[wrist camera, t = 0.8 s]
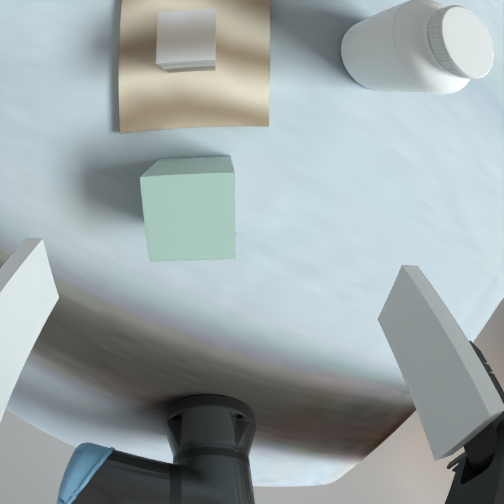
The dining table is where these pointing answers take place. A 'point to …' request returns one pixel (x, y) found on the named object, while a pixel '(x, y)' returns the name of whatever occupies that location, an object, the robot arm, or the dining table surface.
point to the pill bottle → (418, 49)
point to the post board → (195, 88)
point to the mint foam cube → (189, 209)
